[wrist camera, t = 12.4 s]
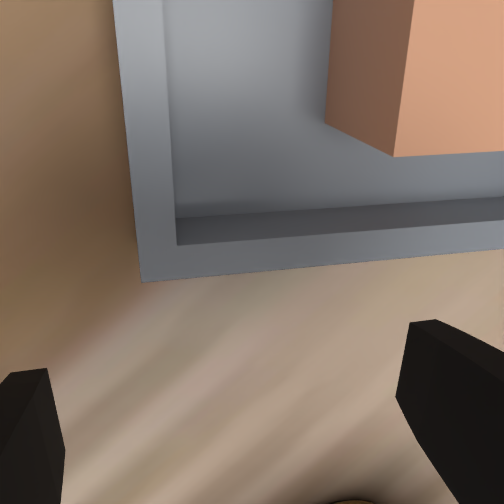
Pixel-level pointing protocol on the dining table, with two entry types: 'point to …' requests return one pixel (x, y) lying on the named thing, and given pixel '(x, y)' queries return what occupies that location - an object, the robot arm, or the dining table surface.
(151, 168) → the tray
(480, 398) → the robot arm
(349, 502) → the plant pot
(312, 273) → the dining table surface
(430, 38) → the block
